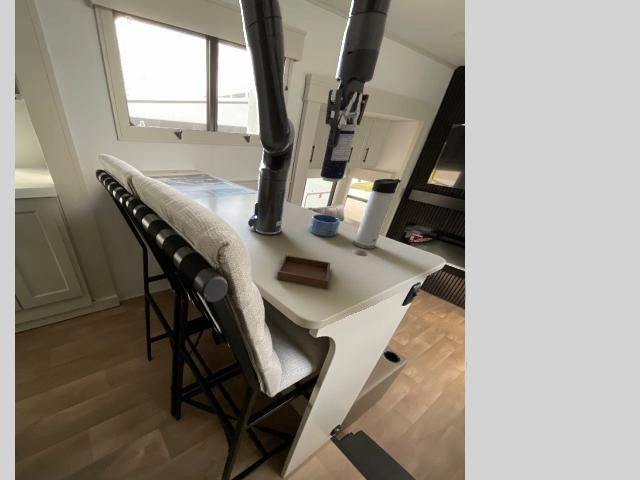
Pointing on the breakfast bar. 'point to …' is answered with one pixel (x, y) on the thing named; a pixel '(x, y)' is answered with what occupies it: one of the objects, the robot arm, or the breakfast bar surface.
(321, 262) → the tray
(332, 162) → the beverage can
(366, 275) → the breakfast bar surface
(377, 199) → the travel mug
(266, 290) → the breakfast bar surface
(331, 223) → the bowl
